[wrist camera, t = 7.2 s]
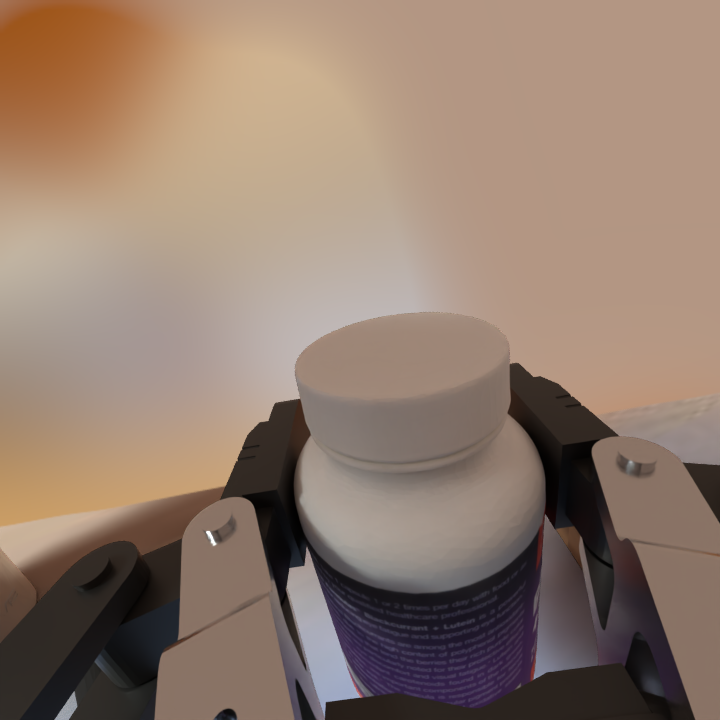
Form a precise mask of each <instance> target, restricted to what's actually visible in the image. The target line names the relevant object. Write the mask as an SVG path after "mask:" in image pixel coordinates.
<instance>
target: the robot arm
mask: <svg viewBox="0 0 720 720" xmlns="http://www.w3.org/2000/svg"><path fill="white" fill-rule="evenodd" d="M510 395H511V402H510V406H509V409H508V413H507V414H508V415H510V416H511V417H512V418H513V419H514V420H515V421H517V422H518V423H519V424H520V425H521V426H522V428H523V429H524V430H525V431H526V432H527V433H528V435H529V436H530V438H531V439H532V441H533V443H534V444H535V446H536V448H537V450H538V452H539V455H540V458H541V460H542V464H543V468H544V474H545V490H546V507H545V514H546V516H547V517H548V519H549V520H550V522H551V523H552V525H553V527H554V528H555V529H559V528H566V527H572V526H574V527H575V529H576V530H577V532H578V533H579V534H580V543H579V552H580V557H581V562H582V567H583V572H584V578H585V583H586V588H587V593H588V598H589V603H590V608H591V614H592V619H593V624H594V629H595V634H596V640H597V649H598V666H592V667H585V668H577V669H570V670H562V671H555V672H548V673H545V674H543V675H542V676H540V677H538V678H536V679H534V680H532V681H530V682H529V683H527V684H525V685H523V686H521V687H519V688H517V689H516V690H514V691H512V692H510V693H508V694H506V695H504V696H503V697H501V698H499V699H497V700H495V701H493V702H491V703H490V704H488V705H486V706H483V707H481V708H468V707H463V706H458V705H453V704H449V703H444V702H439V701H434V700H429V699H424V698H419V697H415V696H410V695H405V694H400V693H392V694H384V695H377V696H369V697H362V698H354V699H347V700H340V701H332V702H326V710H325V717H324V714H323V711H322V708H321V705H320V702H319V699H318V696H317V693H316V690H315V687H314V683H313V680H312V677H311V673H310V669H309V665H308V662H307V658H306V654H305V651H304V647H303V643H302V639H301V636H300V632H299V628H298V625H297V621H296V617H295V613H294V610H293V606H292V602H291V598H290V595H289V592H288V589H287V580H288V574H289V568H292V567H299V566H304V564H305V556H306V547H307V544H306V540H305V537H304V534H303V530H302V526H301V523H300V519H299V516H298V512H297V508H296V504H295V498H294V474H295V469H296V464H297V461H298V458H299V456H300V453H301V451H302V449H303V447H304V445H305V443H306V442H307V440H308V439H309V437H310V436H311V433H310V430H309V428H308V426H307V424H306V421H305V417H304V412H303V408H302V403H301V399H296V400H290V401H284V402H278V403H275V404H274V407H273V409H272V412H271V415H270V418H269V421H266V422H260V423H259V424H258V425H257V426H256V427H255V428H254V429H253V430H252V431H251V432H250V433H249V434H248V435H247V438H246V440H245V442H244V445H243V447H242V450H241V452H240V454H239V456H238V461H236V463H235V466H234V468H233V471H232V473H231V475H230V478H229V480H228V482H227V485H226V487H225V489H224V492H223V494H222V496H221V499H220V501H217V502H215V503H213V504H211V505H209V506H208V507H206V508H205V509H203V510H202V511H201V512H200V513H198V514H197V515H196V516H195V517H194V518H193V520H192V521H191V522H190V523H189V525H188V526H187V528H186V530H185V532H184V534H183V538H182V539H180V540H178V541H176V542H174V543H171V544H169V545H166V546H164V547H162V548H159V549H157V550H154V551H152V552H150V553H147V554H145V555H143V556H142V555H141V554H140V552H139V551H138V549H137V548H136V546H135V545H134V544H133V543H131V542H127V541H118V542H113V543H110V544H107V545H104V546H102V547H100V548H98V549H96V550H94V551H92V552H91V553H89V554H88V555H86V556H84V557H83V558H82V559H80V560H79V561H78V562H77V563H75V564H74V565H73V566H72V567H71V568H70V569H69V570H68V571H67V572H66V573H65V574H64V575H63V576H62V577H61V578H60V579H59V580H58V581H57V582H56V583H55V584H54V585H53V587H52V588H51V589H50V590H49V591H48V592H47V593H46V594H45V595H44V596H43V597H42V598H41V600H40V601H39V602H38V603H37V604H36V601H37V600H36V590H35V588H34V587H33V585H32V584H31V582H30V581H29V580H28V579H27V578H26V577H25V576H24V575H23V573H22V572H21V571H20V570H19V569H18V568H17V567H16V565H15V564H14V563H13V562H12V561H11V560H10V559H9V558H8V556H7V555H6V554H5V553H4V552H3V551H2V550H1V549H0V720H54V719H55V718H56V716H57V715H58V714H59V712H60V711H61V709H62V708H63V706H64V705H65V703H66V702H67V700H68V699H69V698H70V696H71V695H72V693H73V692H74V690H75V689H76V687H77V686H78V685H79V683H80V682H81V680H82V679H83V677H84V676H85V674H86V673H87V672H88V670H89V669H90V667H91V666H92V664H93V663H94V662H95V663H96V664H97V665H98V666H99V667H100V669H101V670H102V671H101V672H100V674H99V675H98V677H97V678H96V680H95V681H94V683H93V684H92V686H91V687H90V689H89V690H88V692H87V693H86V695H85V696H84V698H83V699H82V701H81V702H80V704H79V705H78V707H77V708H76V710H75V711H74V713H73V714H72V716H71V717H70V719H69V720H720V465H707V464H692V463H682V462H681V460H680V459H679V458H678V457H677V456H676V455H674V454H673V453H672V452H670V451H669V450H667V449H665V448H663V447H661V446H659V445H657V444H655V443H652V442H649V441H646V440H642V439H638V438H633V437H620V436H619V435H617V434H616V433H615V432H614V431H613V430H612V429H610V428H609V427H608V426H607V425H606V424H604V423H603V422H602V421H601V420H600V419H599V418H597V417H596V416H595V415H594V414H593V413H592V412H590V411H589V410H588V409H587V408H586V407H584V406H581V403H580V402H579V401H578V400H576V399H575V398H574V397H571V395H570V394H569V393H568V392H567V391H566V390H565V389H563V388H562V387H561V386H560V385H559V384H557V383H555V382H552V381H550V380H548V379H545V378H543V377H541V376H539V377H533V376H532V375H531V374H530V373H529V372H527V371H526V370H525V369H524V368H523V367H522V366H521V365H520V364H519V363H512V364H510ZM35 604H36V605H35Z"/></svg>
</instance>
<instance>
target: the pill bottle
mask: <svg viewBox="0 0 720 720" xmlns="http://www.w3.org/2000/svg"><path fill="white" fill-rule="evenodd" d="M509 355H510V352H509V343H508V341H507V338H506V336H505V335H504V334H503V333H502V332H501V331H500V330H499V329H498V328H497V327H495V326H494V325H492V324H490V323H488V322H486V321H484V320H481V319H478V318H474V317H470V316H464V315H459V314H452V313H440V312H420V313H407V314H397V315H390V316H383V317H378V318H373V319H369V320H365V321H362V322H358V323H355V324H352V325H348V326H346V327H343V328H341V329H338V330H336V331H333V332H331V333H329V334H327V335H325V336H323V337H321V338H320V339H318V340H317V341H315V342H314V343H312V344H311V345H309V346H308V347H307V348H306V349H305V350H304V351H303V352H302V353H301V355H300V356H299V358H298V359H297V361H296V364H295V376H296V381H297V386H298V390H299V394H300V399H301V403H302V408H303V412H304V417H305V421H306V424H307V426H308V428H309V430H310V433H311V436H310V437H309V439H308V440H307V442H306V443H305V445H304V447H303V449H302V451H301V453H300V456H299V458H298V461H297V464H296V469H295V474H294V498H295V504H296V508H297V512H298V516H299V519H300V523H301V526H302V530H303V534H304V537H305V540H306V544H307V547H308V550H309V552H310V555H311V558H312V561H313V564H314V567H315V570H316V573H317V576H318V579H319V582H320V585H321V588H322V591H323V594H324V597H325V600H326V603H327V606H328V609H329V612H330V615H331V618H332V621H333V624H334V627H335V630H336V633H337V636H338V639H339V642H340V645H341V648H342V652H343V655H344V658H345V661H346V664H347V668H348V670H349V673H350V676H351V678H352V681H353V683H354V686H355V688H356V690H357V692H358V694H359V696H360V698H362V697H369V696H377V695H384V694H392V693H400V694H405V695H410V696H415V697H419V698H424V699H429V700H434V701H439V702H444V703H449V704H453V705H458V706H463V707H468V708H481V707H483V706H486V705H488V704H490V703H491V702H493V701H495V700H497V699H499V698H501V697H503V696H504V695H506V694H508V693H510V692H512V691H514V690H516V689H517V688H519V687H521V686H523V685H525V684H527V683H529V682H530V681H532V680H533V678H534V672H535V663H536V651H537V629H538V610H539V596H540V583H541V566H542V547H543V530H544V518H545V507H546V490H545V474H544V468H543V464H542V460H541V458H540V455H539V452H538V450H537V448H536V446H535V444H534V443H533V441H532V439H531V438H530V436H529V435H528V433H527V432H526V431H525V430H524V429H523V428H522V426H521V425H520V424H519V423H518V422H517V421H515V420H514V419H513V418H512V417H511V416H510V415H508V414H507V413H508V409H509V406H510V402H511V395H510V359H509V358H510V356H509Z"/></svg>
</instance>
